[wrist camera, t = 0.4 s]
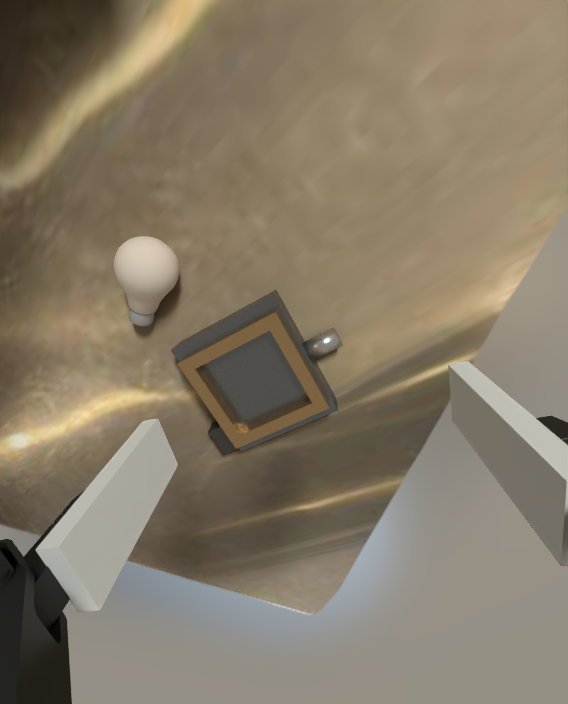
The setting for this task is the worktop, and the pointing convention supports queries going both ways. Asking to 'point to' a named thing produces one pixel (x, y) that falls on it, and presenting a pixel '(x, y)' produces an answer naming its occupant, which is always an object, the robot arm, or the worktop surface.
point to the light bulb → (145, 275)
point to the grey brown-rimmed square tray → (258, 374)
